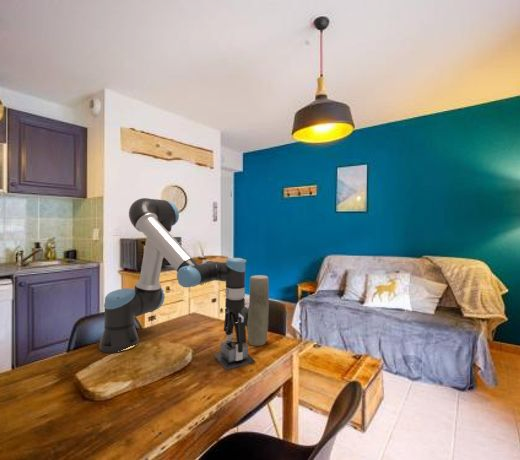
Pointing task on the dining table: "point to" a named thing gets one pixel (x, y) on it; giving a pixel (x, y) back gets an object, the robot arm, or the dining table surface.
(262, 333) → the decorative sculpture
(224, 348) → the grey square hollow block
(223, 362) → the post
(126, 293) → the robot arm
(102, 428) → the dining table surface
